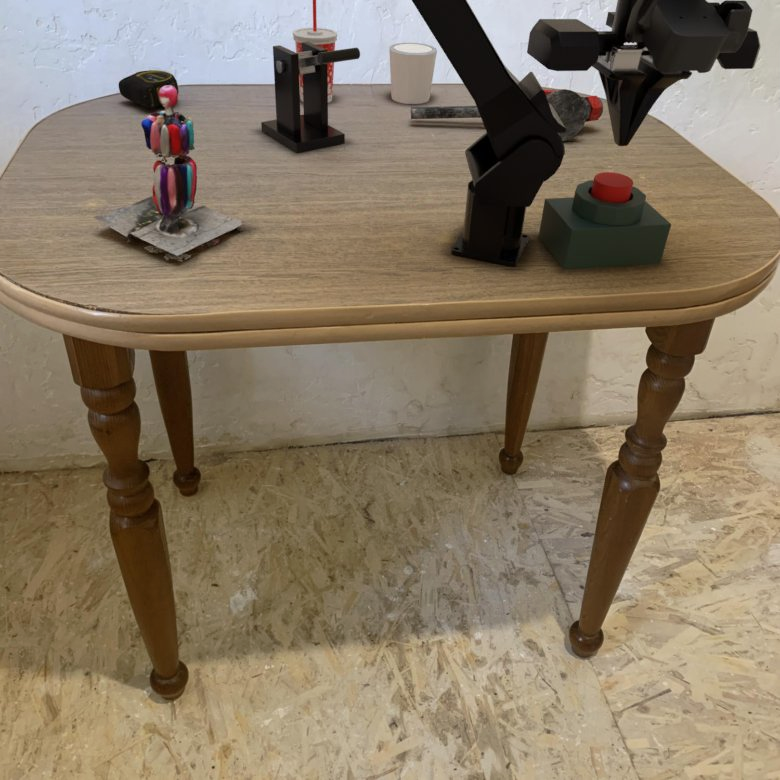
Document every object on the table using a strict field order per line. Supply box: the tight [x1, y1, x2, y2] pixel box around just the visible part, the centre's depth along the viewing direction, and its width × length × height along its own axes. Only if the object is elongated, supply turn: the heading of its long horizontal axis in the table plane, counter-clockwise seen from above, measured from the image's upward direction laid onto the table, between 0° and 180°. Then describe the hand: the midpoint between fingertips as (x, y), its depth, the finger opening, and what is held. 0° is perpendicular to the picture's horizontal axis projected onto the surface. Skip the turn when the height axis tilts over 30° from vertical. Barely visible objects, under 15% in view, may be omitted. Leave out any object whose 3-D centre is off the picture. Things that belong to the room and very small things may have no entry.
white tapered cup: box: [388, 42, 438, 105], centre depth 112 cm, size 7×7×7 cm
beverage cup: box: [292, 0, 338, 104], centre depth 107 cm, size 6×6×14 cm
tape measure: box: [118, 69, 179, 109], centre depth 106 cm, size 7×7×4 cm
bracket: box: [260, 42, 346, 154], centre depth 96 cm, size 9×7×11 cm
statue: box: [93, 85, 246, 262], centre depth 72 cm, size 11×9×15 cm
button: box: [591, 171, 634, 203], centre depth 73 cm, size 4×4×2 cm
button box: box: [538, 179, 672, 271], centre depth 75 cm, size 10×7×6 cm
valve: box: [410, 88, 604, 142], centre depth 106 cm, size 6×26×15 cm
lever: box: [298, 47, 361, 75], centre depth 90 cm, size 11×5×2 cm, turn 36°
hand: (620, 144), depth 70 cm, fingers closed
